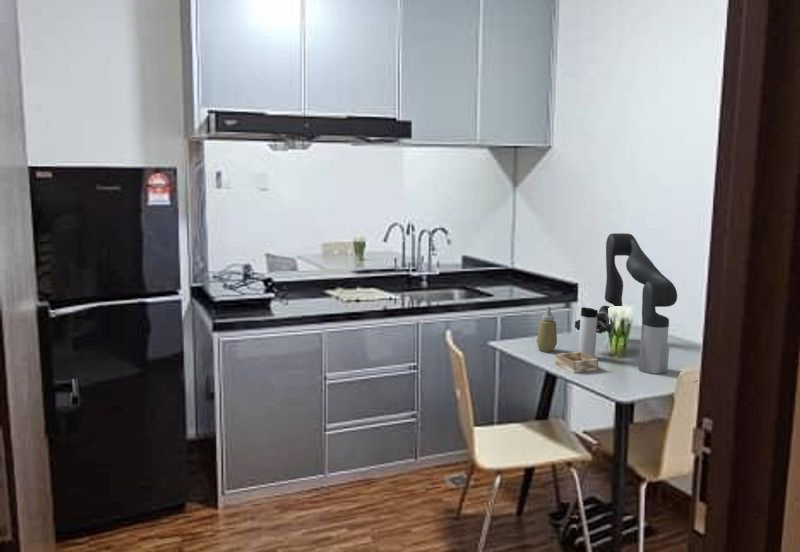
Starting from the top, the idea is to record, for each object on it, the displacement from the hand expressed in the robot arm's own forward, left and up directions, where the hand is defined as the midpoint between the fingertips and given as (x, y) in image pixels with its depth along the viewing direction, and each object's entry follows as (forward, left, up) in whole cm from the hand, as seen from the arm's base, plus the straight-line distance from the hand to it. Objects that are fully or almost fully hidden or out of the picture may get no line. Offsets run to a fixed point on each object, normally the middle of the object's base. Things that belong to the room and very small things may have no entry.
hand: (588, 329), depth 269 cm
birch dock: (+9, +14, -11) cm, 20 cm away
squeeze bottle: (+14, -9, -11) cm, 20 cm away
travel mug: (+1, +1, -11) cm, 11 cm away
